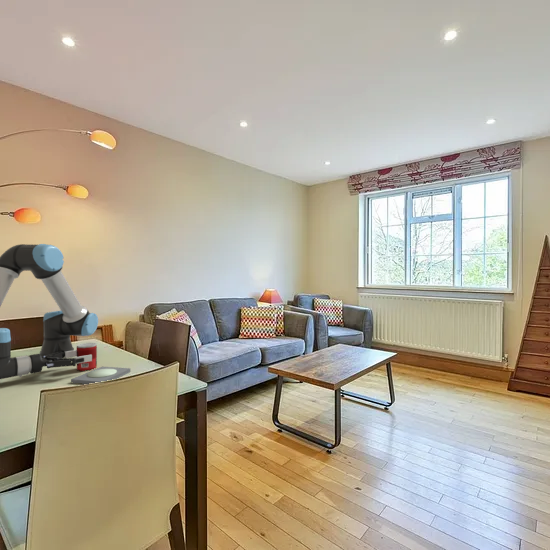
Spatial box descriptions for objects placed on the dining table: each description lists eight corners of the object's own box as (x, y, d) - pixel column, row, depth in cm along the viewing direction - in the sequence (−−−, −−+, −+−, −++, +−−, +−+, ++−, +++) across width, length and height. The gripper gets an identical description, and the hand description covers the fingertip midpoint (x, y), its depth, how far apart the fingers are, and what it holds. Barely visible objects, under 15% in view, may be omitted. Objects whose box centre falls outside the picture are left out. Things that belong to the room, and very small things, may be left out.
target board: (102, 369, 152) (102, 365, 152) (130, 371, 149) (130, 367, 149) (71, 383, 134) (71, 378, 134) (102, 385, 132) (102, 380, 132)
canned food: (100, 367, 155) (100, 343, 155) (82, 372, 148) (82, 347, 148) (90, 365, 159) (90, 341, 159) (73, 369, 152) (73, 345, 152)
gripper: (22, 367, 146) (77, 358, 162) (36, 380, 129) (96, 369, 145) (22, 350, 146) (77, 342, 162) (36, 361, 129) (96, 351, 144)
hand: (86, 354), depth 153 cm, fingers open, 13 cm apart
